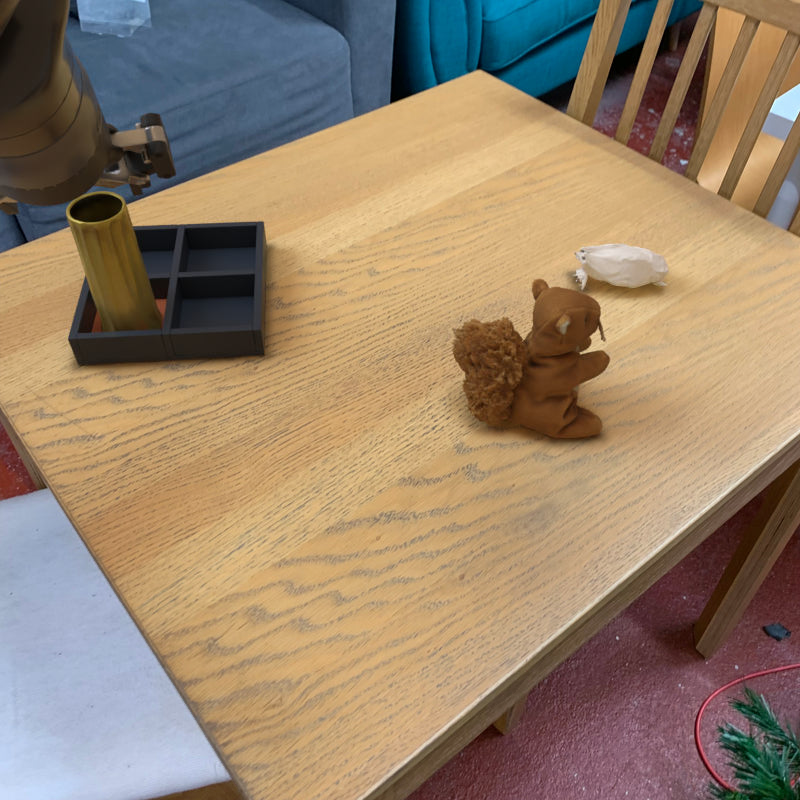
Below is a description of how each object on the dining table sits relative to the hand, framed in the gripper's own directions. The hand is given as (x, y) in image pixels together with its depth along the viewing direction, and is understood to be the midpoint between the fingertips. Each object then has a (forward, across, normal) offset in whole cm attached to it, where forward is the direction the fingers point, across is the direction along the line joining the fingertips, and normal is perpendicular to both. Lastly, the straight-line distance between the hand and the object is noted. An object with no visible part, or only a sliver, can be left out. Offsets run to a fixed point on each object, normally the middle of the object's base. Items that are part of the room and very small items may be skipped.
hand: (73, 190), depth 55 cm
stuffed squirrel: (+10, -35, +24) cm, 43 cm away
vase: (+24, 0, +8) cm, 26 cm away
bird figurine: (+19, -53, +14) cm, 58 cm away
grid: (+27, -5, +6) cm, 29 cm away
